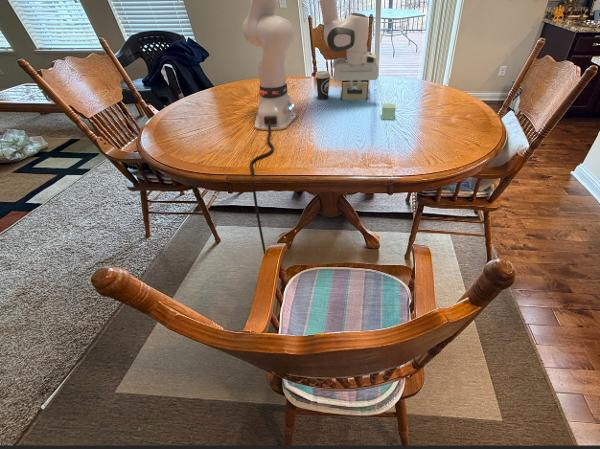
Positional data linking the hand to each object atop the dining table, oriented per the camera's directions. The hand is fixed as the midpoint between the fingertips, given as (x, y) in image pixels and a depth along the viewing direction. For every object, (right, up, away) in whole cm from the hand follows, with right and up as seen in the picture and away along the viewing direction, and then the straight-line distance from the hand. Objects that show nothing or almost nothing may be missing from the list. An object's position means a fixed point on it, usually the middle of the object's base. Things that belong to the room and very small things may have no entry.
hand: (354, 89), depth 143 cm
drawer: (+1, +1, +9) cm, 9 cm away
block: (+12, -17, -11) cm, 23 cm away
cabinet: (+2, +4, +14) cm, 15 cm away
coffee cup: (-14, +2, +14) cm, 20 cm away
